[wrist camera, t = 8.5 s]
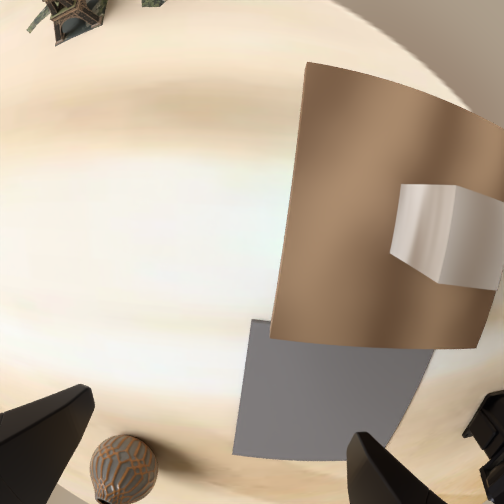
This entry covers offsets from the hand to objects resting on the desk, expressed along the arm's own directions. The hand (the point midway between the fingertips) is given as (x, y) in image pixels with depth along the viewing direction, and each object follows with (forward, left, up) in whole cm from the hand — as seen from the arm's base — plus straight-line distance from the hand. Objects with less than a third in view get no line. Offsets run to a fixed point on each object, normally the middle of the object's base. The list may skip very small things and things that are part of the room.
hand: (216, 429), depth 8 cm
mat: (-8, +9, -12) cm, 17 cm away
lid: (-8, -7, -7) cm, 13 cm away
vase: (+10, +20, -12) cm, 26 cm away
